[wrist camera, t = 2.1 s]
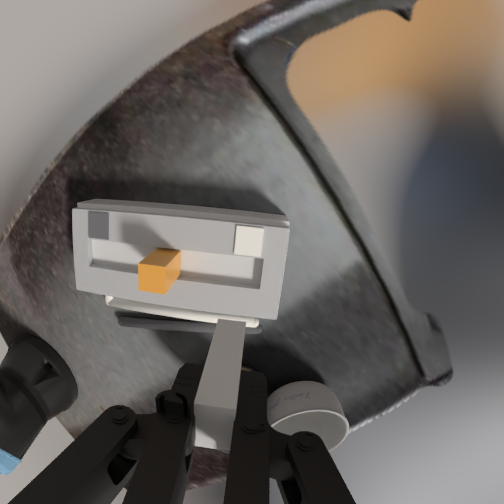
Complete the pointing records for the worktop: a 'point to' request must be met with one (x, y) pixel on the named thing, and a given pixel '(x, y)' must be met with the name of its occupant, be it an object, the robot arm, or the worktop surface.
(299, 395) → the teacup
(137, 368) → the worktop surface
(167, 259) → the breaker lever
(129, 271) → the slider switch box
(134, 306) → the long white rail
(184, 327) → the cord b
